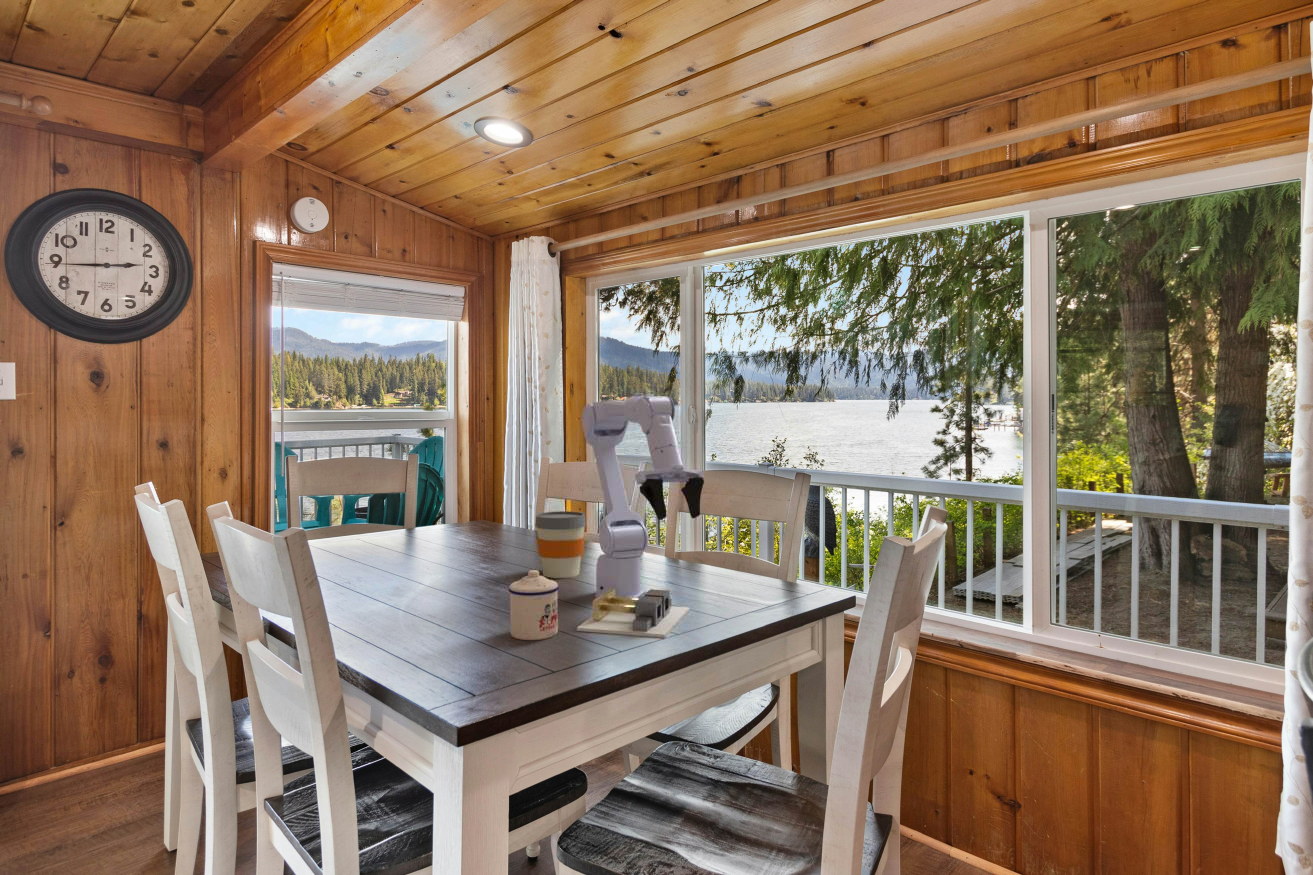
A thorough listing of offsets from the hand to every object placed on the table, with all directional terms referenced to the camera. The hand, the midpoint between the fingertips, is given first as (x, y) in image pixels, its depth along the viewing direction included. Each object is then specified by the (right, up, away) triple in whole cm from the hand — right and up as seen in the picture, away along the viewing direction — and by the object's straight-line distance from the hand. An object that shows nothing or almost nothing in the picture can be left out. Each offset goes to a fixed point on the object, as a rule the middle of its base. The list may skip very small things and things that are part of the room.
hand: (679, 517), depth 143 cm
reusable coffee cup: (-28, -19, +45) cm, 56 cm away
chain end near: (-6, -20, -2) cm, 21 cm away
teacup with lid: (-27, -21, -3) cm, 34 cm away
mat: (-8, -20, +4) cm, 22 cm away
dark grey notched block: (-4, -20, +7) cm, 21 cm away
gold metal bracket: (-11, -20, +4) cm, 23 cm away
